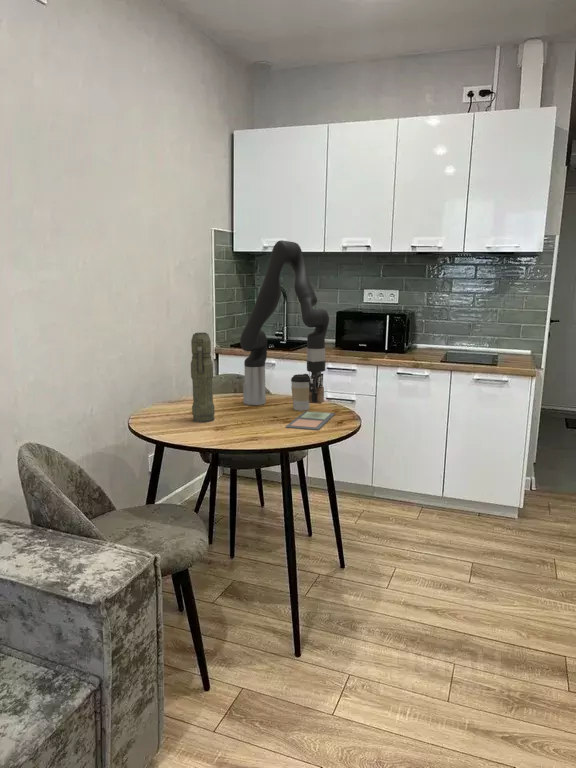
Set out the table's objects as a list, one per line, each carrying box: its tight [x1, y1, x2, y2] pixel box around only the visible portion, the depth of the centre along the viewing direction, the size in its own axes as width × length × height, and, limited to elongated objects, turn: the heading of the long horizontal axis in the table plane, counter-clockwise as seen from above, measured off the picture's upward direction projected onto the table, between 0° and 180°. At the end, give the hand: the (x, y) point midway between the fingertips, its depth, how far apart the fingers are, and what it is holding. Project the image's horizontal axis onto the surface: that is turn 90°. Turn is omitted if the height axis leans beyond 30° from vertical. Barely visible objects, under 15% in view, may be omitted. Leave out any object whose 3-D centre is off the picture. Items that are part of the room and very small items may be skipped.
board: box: [285, 410, 336, 431], centre depth 229 cm, size 13×26×1 cm, turn 162°
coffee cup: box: [290, 373, 311, 412], centre depth 249 cm, size 9×9×15 cm
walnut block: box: [309, 386, 325, 405], centre depth 234 cm, size 5×5×6 cm
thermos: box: [190, 332, 216, 423], centre depth 229 cm, size 9×12×35 cm
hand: (316, 400), depth 234 cm, fingers closed on walnut block, 5 cm apart
